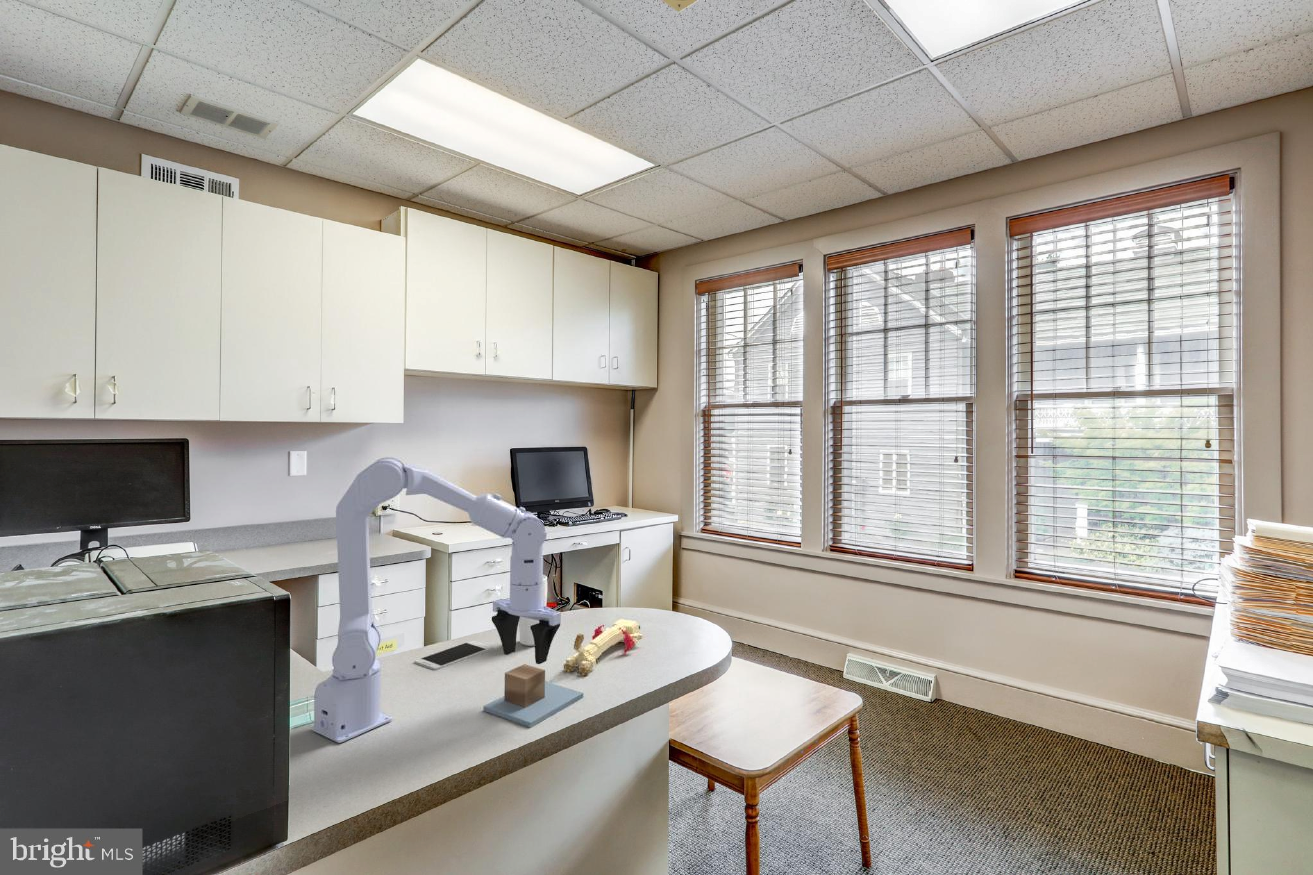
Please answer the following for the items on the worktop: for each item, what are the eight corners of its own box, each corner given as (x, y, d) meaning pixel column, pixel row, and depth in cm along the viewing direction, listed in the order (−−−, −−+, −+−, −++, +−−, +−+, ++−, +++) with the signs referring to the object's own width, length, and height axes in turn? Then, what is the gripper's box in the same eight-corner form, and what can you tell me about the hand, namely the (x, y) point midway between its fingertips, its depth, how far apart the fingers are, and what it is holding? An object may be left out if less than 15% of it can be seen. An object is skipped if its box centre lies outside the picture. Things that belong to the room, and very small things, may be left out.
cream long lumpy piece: (597, 685, 126) (653, 637, 148) (595, 642, 125) (652, 601, 148) (555, 675, 130) (615, 630, 153) (553, 634, 130) (615, 595, 152)
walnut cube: (525, 707, 111) (525, 679, 110) (504, 700, 113) (504, 672, 113) (544, 697, 115) (545, 670, 115) (524, 690, 117) (524, 664, 117)
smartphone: (494, 650, 141) (494, 646, 141) (435, 672, 128) (435, 667, 128) (472, 643, 145) (472, 639, 145) (413, 664, 132) (413, 660, 132)
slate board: (530, 727, 105) (530, 722, 105) (483, 710, 111) (483, 706, 111) (583, 697, 117) (583, 692, 117) (538, 683, 123) (538, 679, 123)
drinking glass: (513, 639, 147) (514, 575, 146) (542, 636, 150) (543, 572, 149) (520, 649, 141) (521, 582, 140) (550, 645, 143) (551, 579, 143)
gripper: (572, 583, 113) (571, 659, 113) (512, 571, 121) (511, 643, 121) (545, 592, 107) (544, 672, 107) (484, 579, 115) (483, 654, 115)
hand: (525, 657), depth 114 cm, fingers open, 7 cm apart
